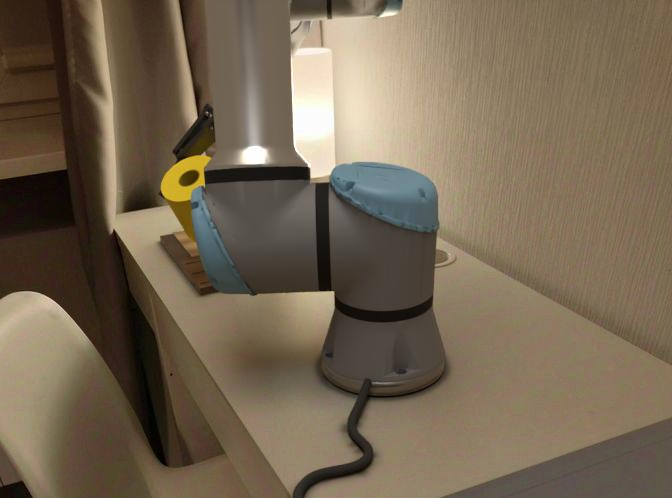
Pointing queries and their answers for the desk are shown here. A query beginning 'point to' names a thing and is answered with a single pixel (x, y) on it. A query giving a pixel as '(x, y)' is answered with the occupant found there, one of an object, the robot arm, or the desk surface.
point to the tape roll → (184, 188)
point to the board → (188, 260)
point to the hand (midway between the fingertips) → (182, 206)
